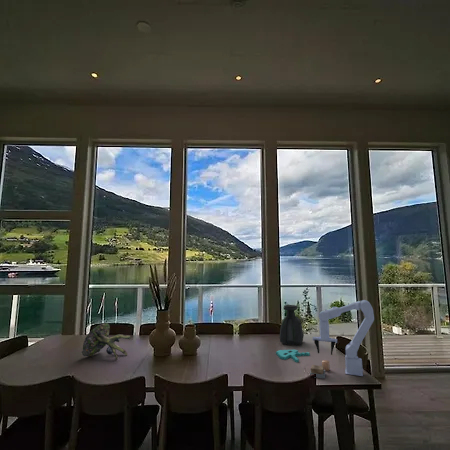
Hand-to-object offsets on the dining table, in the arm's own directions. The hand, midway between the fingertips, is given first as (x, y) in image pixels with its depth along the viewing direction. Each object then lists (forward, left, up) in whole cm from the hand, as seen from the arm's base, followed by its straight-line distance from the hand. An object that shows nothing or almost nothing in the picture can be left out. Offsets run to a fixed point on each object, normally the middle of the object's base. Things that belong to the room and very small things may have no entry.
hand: (325, 353), depth 181 cm
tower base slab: (+4, +11, -10) cm, 15 cm away
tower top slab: (+4, +11, -8) cm, 14 cm away
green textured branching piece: (+147, +26, -10) cm, 149 cm away
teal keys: (+25, -20, -10) cm, 33 cm away
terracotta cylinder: (0, 0, -10) cm, 10 cm away
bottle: (+30, -56, -10) cm, 64 cm away
